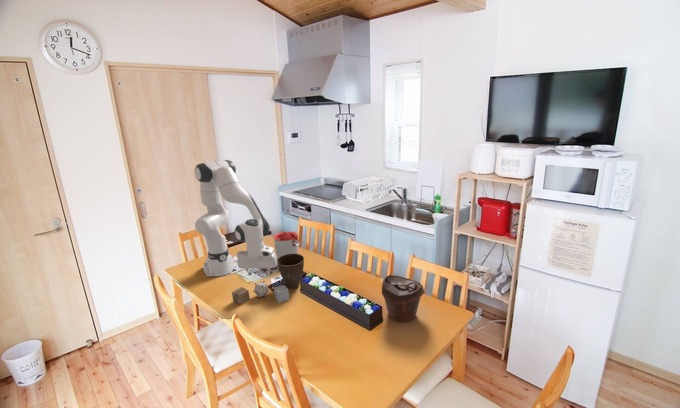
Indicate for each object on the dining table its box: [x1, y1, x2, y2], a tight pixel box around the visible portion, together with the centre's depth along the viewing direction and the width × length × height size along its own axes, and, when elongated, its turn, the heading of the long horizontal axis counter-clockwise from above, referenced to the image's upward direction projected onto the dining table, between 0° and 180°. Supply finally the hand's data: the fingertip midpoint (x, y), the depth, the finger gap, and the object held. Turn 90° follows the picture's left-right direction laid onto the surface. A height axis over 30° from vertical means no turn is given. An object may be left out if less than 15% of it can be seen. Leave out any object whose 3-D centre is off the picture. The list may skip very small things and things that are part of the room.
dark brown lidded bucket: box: [381, 274, 425, 323], centre depth 154 cm, size 18×20×18 cm
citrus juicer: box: [272, 231, 301, 259], centre depth 216 cm, size 16×17×20 cm
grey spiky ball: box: [252, 281, 271, 299], centre depth 177 cm, size 9×8×10 cm
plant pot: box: [277, 253, 305, 289], centre depth 185 cm, size 15×15×16 cm
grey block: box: [273, 284, 290, 304], centre depth 174 cm, size 6×6×6 cm
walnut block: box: [231, 286, 251, 306], centre depth 174 cm, size 6×6×6 cm
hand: (259, 274), depth 175 cm, fingers open, 8 cm apart
